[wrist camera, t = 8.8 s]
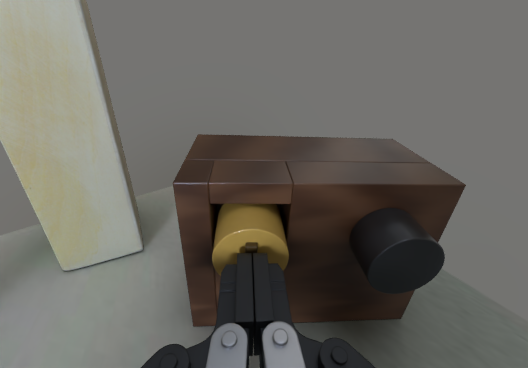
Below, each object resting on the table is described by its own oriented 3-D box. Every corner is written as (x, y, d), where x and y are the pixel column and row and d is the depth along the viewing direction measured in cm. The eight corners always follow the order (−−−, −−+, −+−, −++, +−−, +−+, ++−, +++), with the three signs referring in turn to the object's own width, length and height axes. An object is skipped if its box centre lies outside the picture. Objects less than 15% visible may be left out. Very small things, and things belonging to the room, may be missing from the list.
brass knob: (213, 292, 14) (208, 234, 12) (219, 243, 17) (216, 192, 15) (286, 290, 14) (294, 233, 12) (278, 243, 17) (283, 192, 15)
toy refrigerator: (64, 225, 28) (-34, -14, 18) (138, 209, 31) (89, -1, 21) (51, 277, 22) (-111, -42, 12) (144, 251, 25) (79, -17, 15)
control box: (185, 368, 16) (155, 213, 10) (207, 249, 25) (197, 134, 20) (422, 355, 17) (511, 212, 12) (360, 247, 27) (392, 138, 21)
